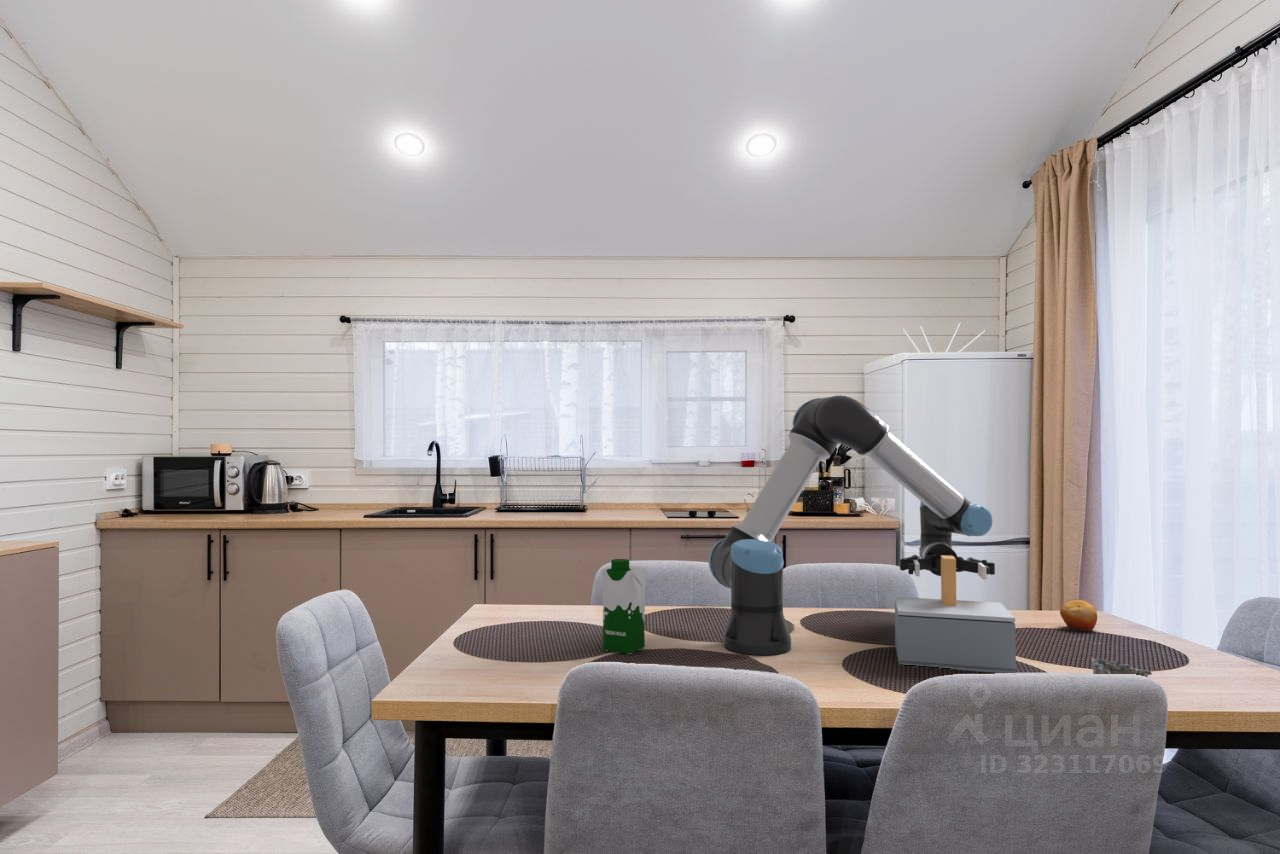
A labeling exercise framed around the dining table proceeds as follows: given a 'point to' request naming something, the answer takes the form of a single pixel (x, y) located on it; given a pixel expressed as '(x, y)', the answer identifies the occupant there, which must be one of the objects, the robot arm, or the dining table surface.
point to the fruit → (1079, 615)
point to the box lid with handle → (952, 601)
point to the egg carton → (1116, 668)
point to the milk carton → (623, 607)
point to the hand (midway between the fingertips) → (950, 571)
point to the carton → (956, 643)
